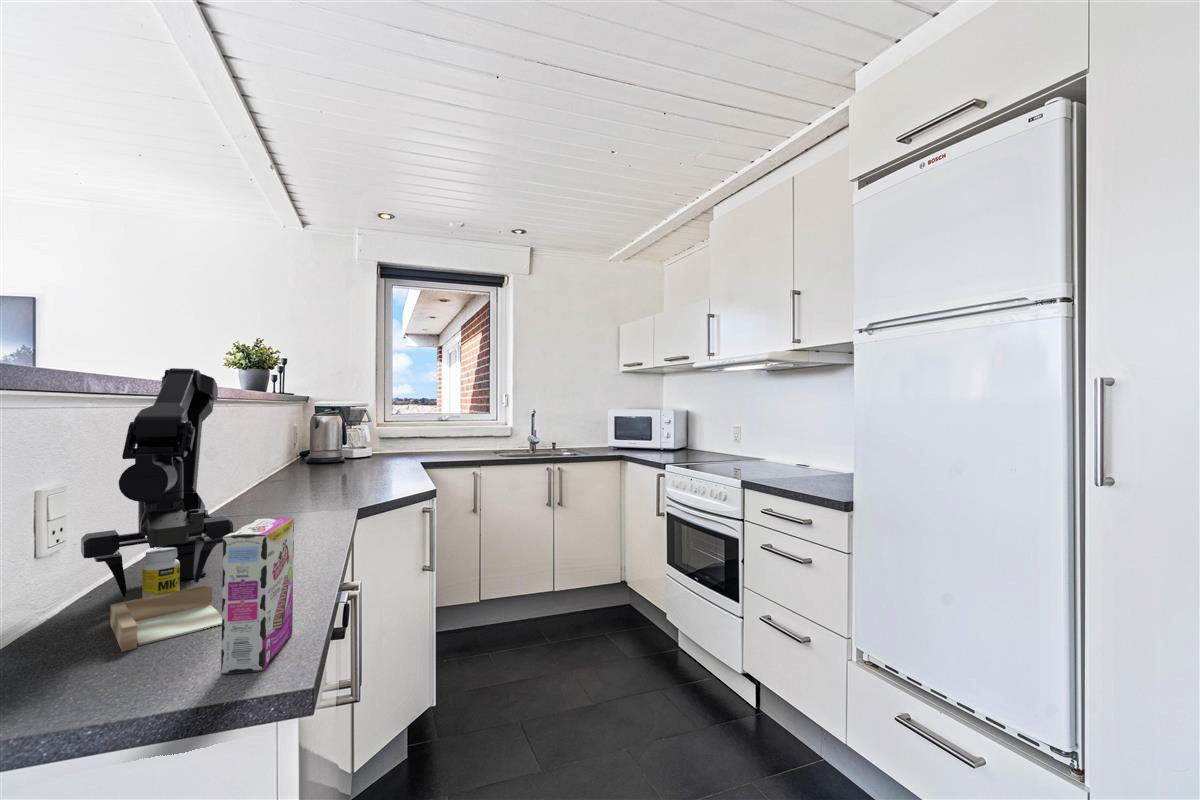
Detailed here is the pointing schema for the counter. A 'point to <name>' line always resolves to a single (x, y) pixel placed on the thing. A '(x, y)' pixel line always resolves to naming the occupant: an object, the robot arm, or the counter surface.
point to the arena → (163, 616)
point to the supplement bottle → (160, 572)
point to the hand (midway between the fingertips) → (161, 588)
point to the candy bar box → (256, 594)
